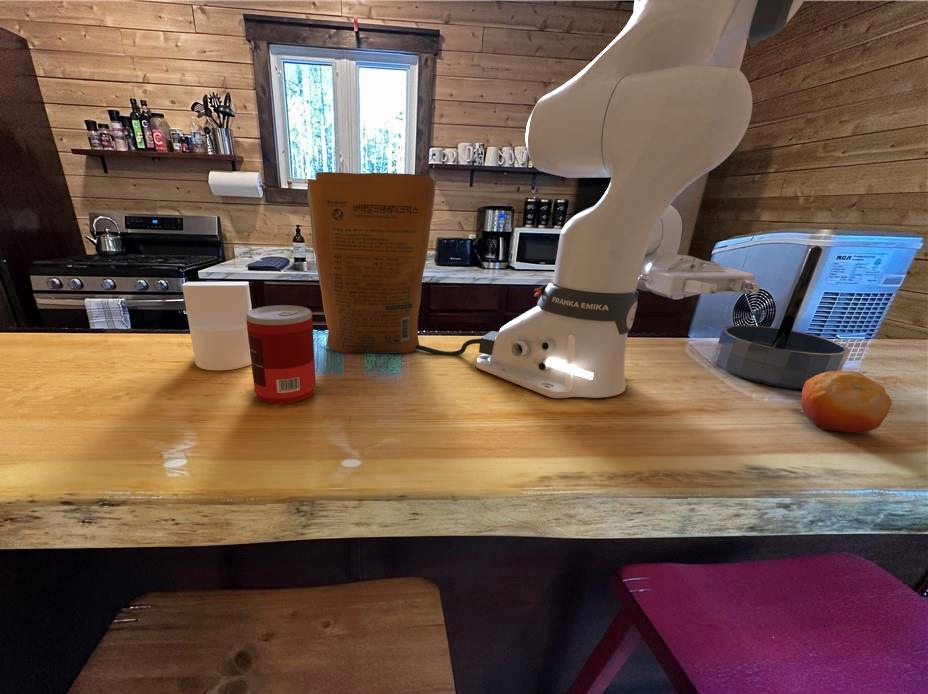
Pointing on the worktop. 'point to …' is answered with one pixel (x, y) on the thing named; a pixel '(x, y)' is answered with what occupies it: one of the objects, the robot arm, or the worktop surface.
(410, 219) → the pancake mix bag
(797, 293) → the long black rod
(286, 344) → the canned food
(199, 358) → the base with upright slab
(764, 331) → the bowl
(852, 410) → the fruit
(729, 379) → the worktop surface
